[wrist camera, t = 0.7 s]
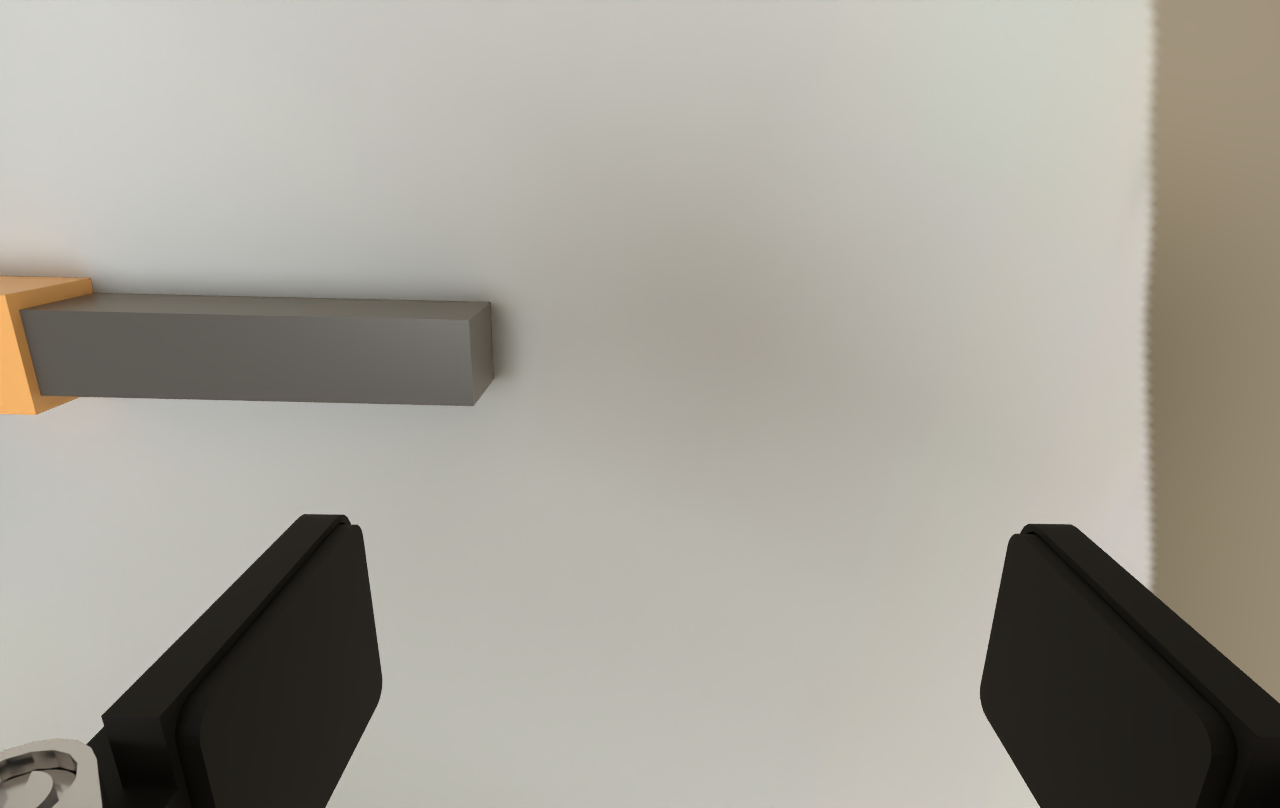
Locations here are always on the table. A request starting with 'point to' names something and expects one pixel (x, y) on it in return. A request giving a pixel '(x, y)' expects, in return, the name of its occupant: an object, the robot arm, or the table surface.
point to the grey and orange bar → (235, 347)
